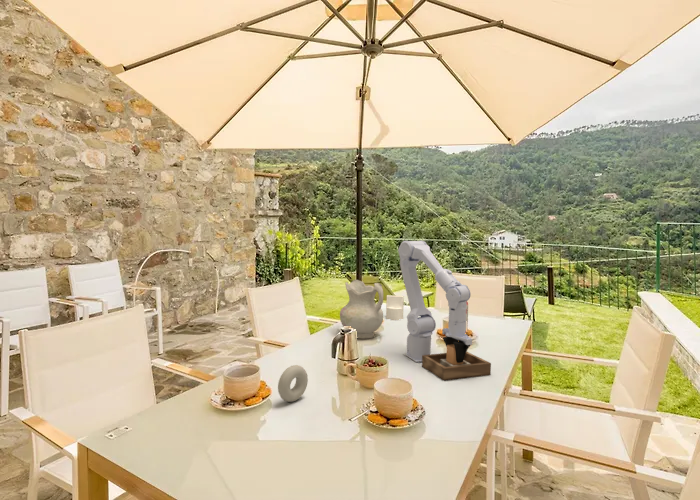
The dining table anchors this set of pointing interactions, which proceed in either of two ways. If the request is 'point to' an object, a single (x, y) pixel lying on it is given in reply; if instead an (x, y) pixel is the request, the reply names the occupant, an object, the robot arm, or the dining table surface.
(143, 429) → the dining table surface
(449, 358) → the plug
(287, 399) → the donut
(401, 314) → the base with upright slab
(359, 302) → the ceramic pitcher
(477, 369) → the box
